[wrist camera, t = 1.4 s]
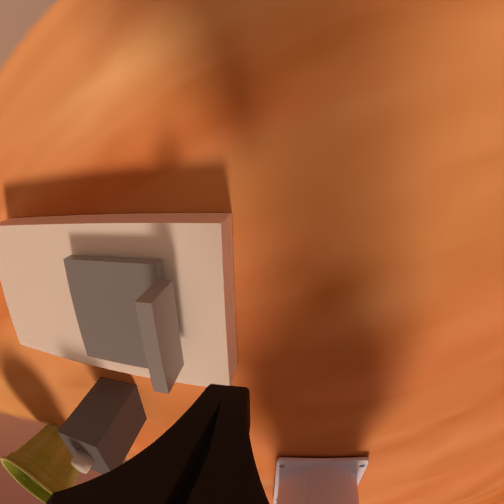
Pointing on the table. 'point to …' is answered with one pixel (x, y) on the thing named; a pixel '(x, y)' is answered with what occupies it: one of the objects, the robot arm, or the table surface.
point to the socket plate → (134, 246)
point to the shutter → (127, 313)
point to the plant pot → (42, 464)
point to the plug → (103, 426)
